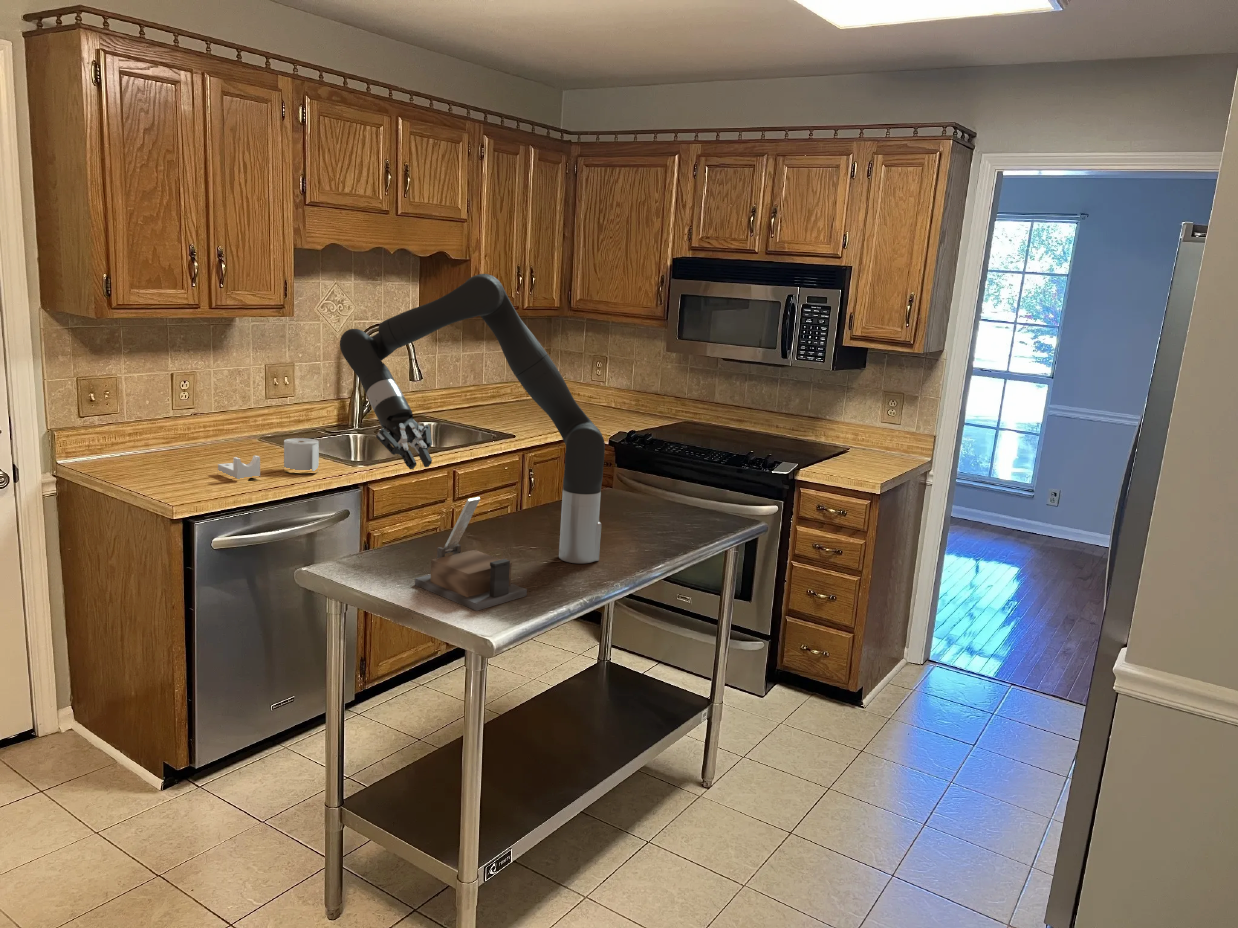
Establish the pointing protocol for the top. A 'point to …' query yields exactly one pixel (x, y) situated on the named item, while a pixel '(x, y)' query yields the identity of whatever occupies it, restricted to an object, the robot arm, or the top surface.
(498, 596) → the latch block
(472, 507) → the strap
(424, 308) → the robot arm
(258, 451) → the top surface
